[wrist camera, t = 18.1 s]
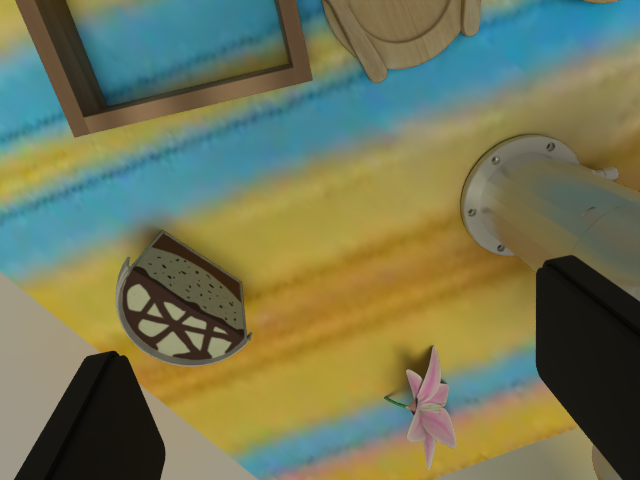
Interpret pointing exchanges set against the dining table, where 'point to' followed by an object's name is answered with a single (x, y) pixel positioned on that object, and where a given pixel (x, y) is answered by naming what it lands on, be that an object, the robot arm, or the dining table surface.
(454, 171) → the dining table surface
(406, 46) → the tableware set
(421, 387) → the lily
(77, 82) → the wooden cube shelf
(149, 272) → the food container
